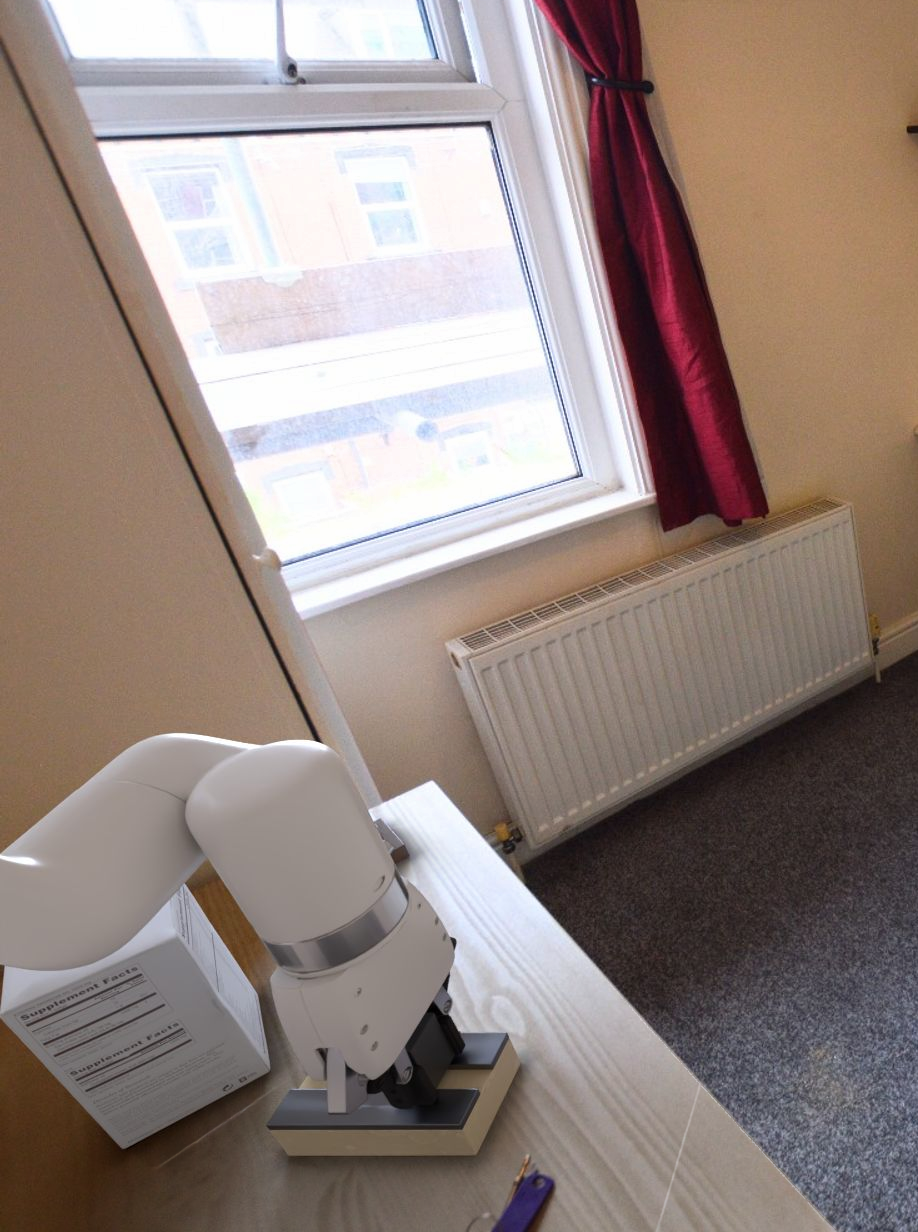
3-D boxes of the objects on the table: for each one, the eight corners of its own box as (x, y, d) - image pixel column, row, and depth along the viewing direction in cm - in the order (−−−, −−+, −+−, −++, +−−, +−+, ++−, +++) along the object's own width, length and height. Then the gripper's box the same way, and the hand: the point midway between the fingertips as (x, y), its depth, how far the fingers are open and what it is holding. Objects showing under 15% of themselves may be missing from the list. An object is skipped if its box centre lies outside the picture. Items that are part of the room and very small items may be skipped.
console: (288, 1156, 64) (264, 1124, 62) (349, 1063, 70) (329, 1031, 68) (476, 1156, 64) (459, 1124, 62) (521, 1063, 70) (507, 1031, 68)
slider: (404, 1100, 64) (376, 1052, 61) (427, 1060, 67) (401, 1012, 64) (437, 1100, 64) (410, 1052, 61) (458, 1060, 67) (434, 1012, 64)
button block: (320, 906, 83) (306, 881, 82) (298, 876, 87) (284, 851, 85) (410, 856, 89) (398, 831, 87) (386, 828, 92) (374, 804, 90)
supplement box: (118, 1060, 70) (3, 923, 62) (259, 991, 76) (171, 856, 67) (120, 1155, 64) (-8, 1017, 56) (273, 1072, 69) (177, 935, 61)
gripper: (360, 819, 63) (441, 978, 72) (176, 1034, 49) (305, 1198, 58) (462, 818, 63) (530, 977, 72) (308, 1033, 49) (417, 1197, 58)
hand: (429, 1074), depth 65 cm, fingers closed on slider, 3 cm apart
